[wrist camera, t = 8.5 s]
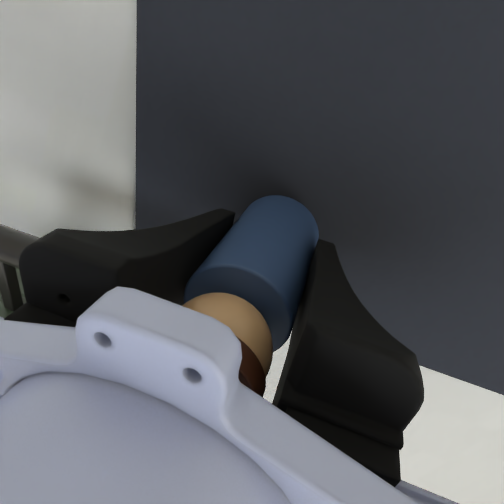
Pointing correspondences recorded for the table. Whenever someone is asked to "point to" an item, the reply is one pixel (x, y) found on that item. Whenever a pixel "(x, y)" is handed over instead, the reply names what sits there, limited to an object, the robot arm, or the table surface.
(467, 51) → the mat
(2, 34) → the table surface
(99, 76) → the table surface
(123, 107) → the table surface
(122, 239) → the robot arm
